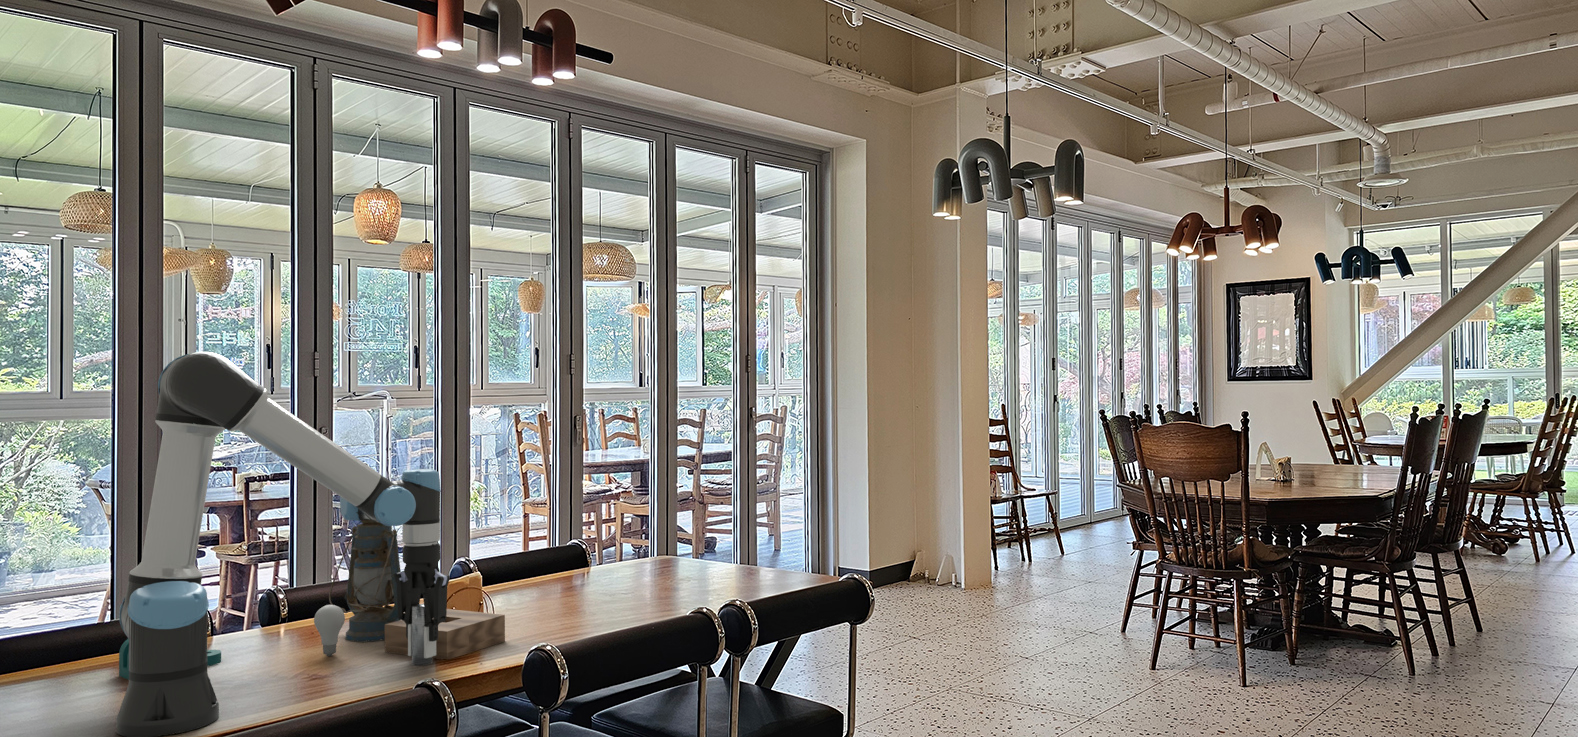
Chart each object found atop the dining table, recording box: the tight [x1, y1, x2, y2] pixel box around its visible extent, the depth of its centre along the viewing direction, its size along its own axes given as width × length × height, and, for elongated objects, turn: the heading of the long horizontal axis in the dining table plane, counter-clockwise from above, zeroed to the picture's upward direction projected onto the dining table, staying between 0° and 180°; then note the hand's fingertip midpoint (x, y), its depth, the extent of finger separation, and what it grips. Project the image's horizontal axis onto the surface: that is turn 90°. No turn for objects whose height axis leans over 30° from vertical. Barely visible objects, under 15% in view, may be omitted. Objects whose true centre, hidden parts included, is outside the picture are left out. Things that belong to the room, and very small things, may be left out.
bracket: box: [118, 637, 222, 681], centre depth 216 cm, size 18×7×8 cm, turn 141°
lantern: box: [328, 519, 402, 643], centre depth 244 cm, size 19×14×30 cm
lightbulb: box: [313, 604, 346, 657], centre depth 225 cm, size 6×6×11 cm
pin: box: [411, 603, 433, 667], centre depth 218 cm, size 4×4×12 cm
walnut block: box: [384, 608, 506, 660], centre depth 232 cm, size 18×18×6 cm
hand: (422, 655), depth 218 cm, fingers closed on pin, 4 cm apart
